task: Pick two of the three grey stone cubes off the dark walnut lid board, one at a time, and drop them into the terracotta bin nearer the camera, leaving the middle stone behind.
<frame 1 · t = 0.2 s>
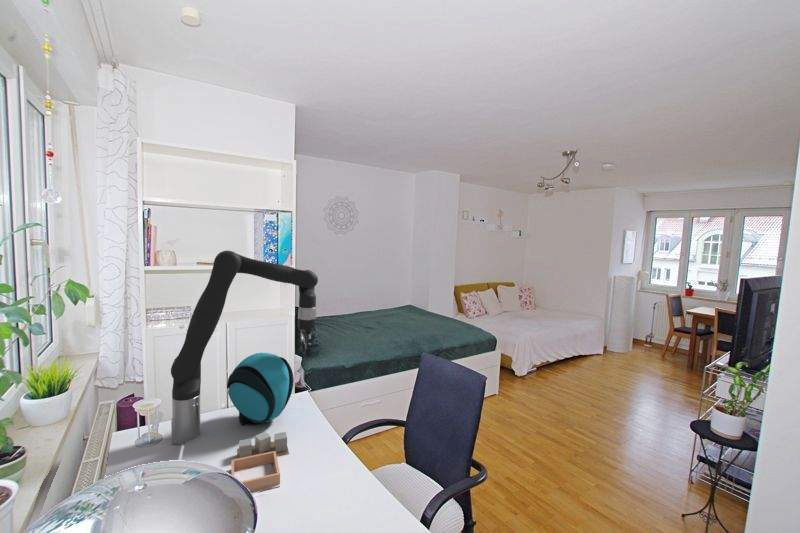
hand: (306, 353, 153), 29 cm above the table, fingers open, 8 cm apart
bin: (255, 479, 117), on the table
helmet: (261, 423, 151), on the table
stone c: (280, 448, 132), point 1 cm above the table, touching lid board
stone b: (262, 449, 131), point 1 cm above the table, touching lid board
stone a: (245, 455, 127), point 1 cm above the table, touching lid board
lid board: (263, 454, 130), on the table
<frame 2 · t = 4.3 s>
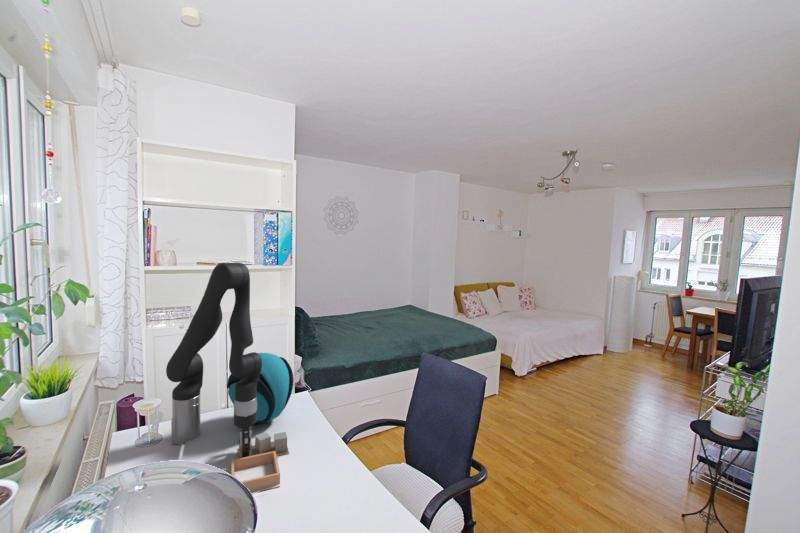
hand: (245, 455, 126), 1 cm above the table, fingers closed on stone a, 4 cm apart
stone a: (245, 455, 127), point 1 cm above the table, touching gripper, lid board
everything else where it was.
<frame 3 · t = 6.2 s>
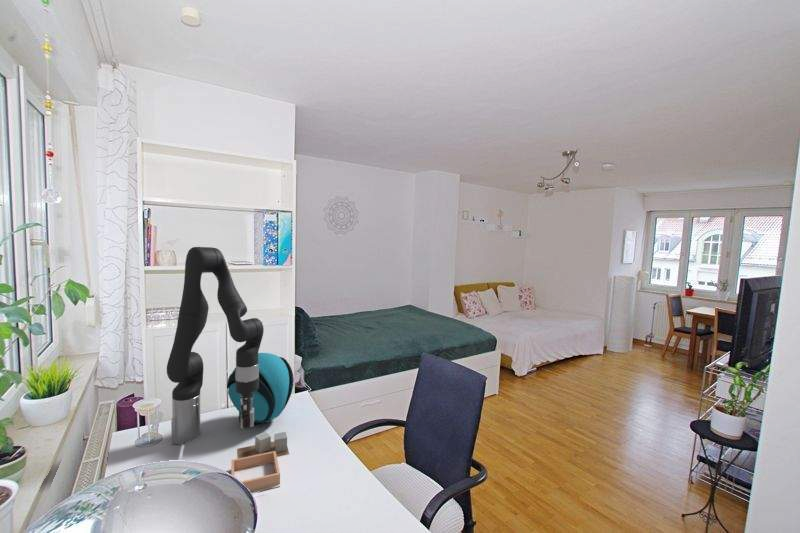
hand: (247, 423, 124), 14 cm above the table, fingers closed on stone a, 4 cm apart
stone a: (247, 424, 124), point 14 cm above the table, touching gripper
everything else where it was.
when the fingers open (3 cm above the table, at t = 8.4 s): stone a drops 2 cm, resting on bin.
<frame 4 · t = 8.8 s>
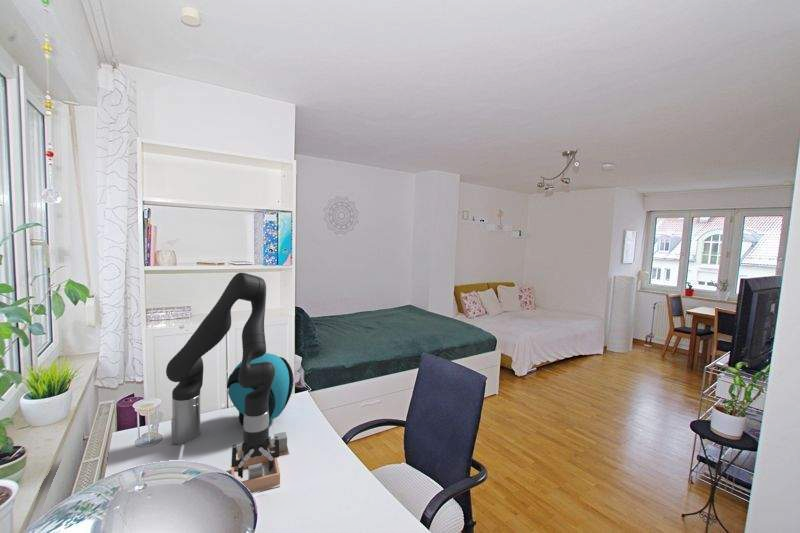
hand: (255, 473, 114), 4 cm above the table, fingers open, 8 cm apart
stone a: (255, 482, 114), point 1 cm above the table, touching bin
everything else where it was.
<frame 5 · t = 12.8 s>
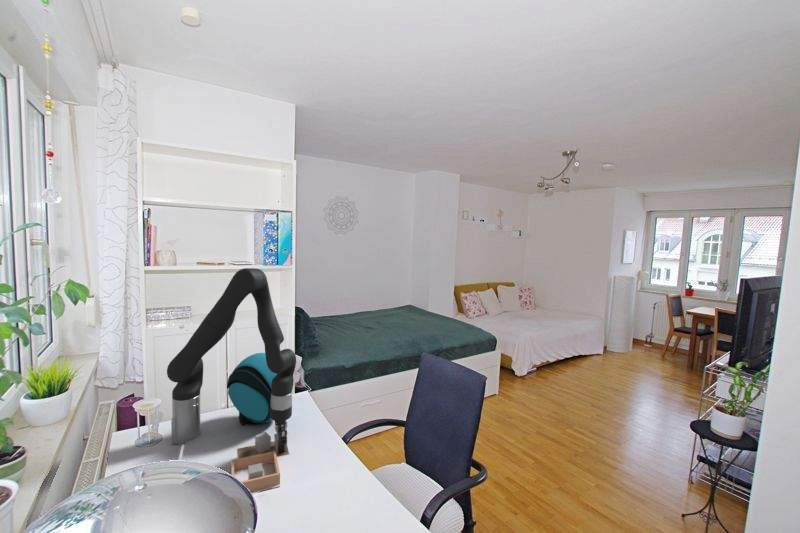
hand: (280, 448, 132), 1 cm above the table, fingers closed on stone c, 4 cm apart
stone c: (280, 448, 132), point 1 cm above the table, touching gripper, lid board
everything else where it was.
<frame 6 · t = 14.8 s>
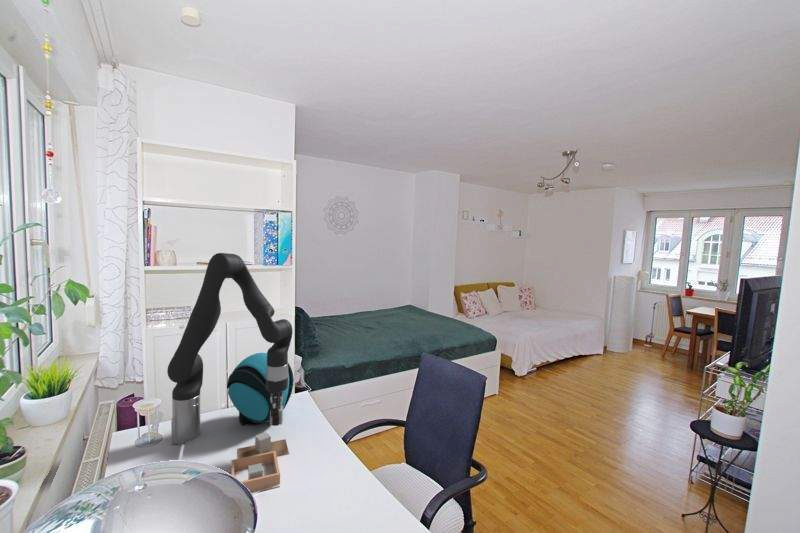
hand: (276, 421, 128), 13 cm above the table, fingers closed on stone c, 4 cm apart
stone c: (276, 421, 128), point 13 cm above the table, touching gripper
everything else where it was.
when the fingers open (3 cm above the table, at t = 16.7 s): stone c drops 2 cm, resting on bin.
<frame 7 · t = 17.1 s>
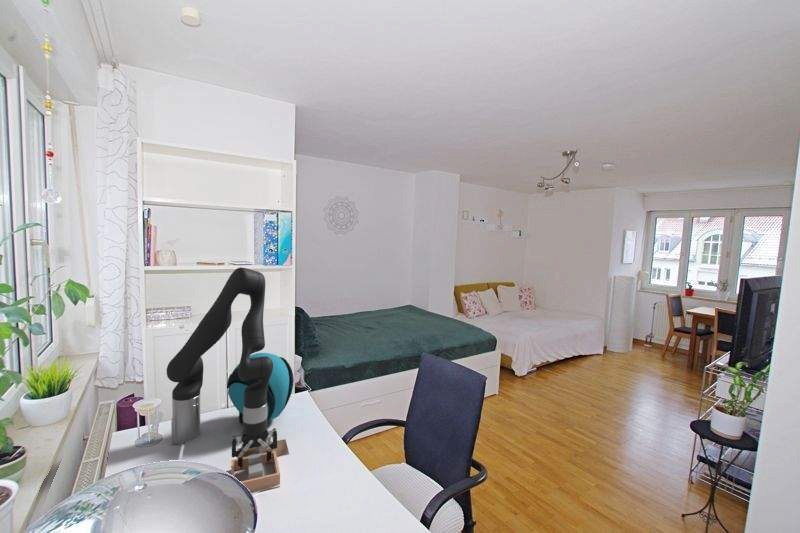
hand: (254, 463, 119), 4 cm above the table, fingers open, 8 cm apart
stone c: (254, 472, 119), point 1 cm above the table, touching bin
everything else where it was.
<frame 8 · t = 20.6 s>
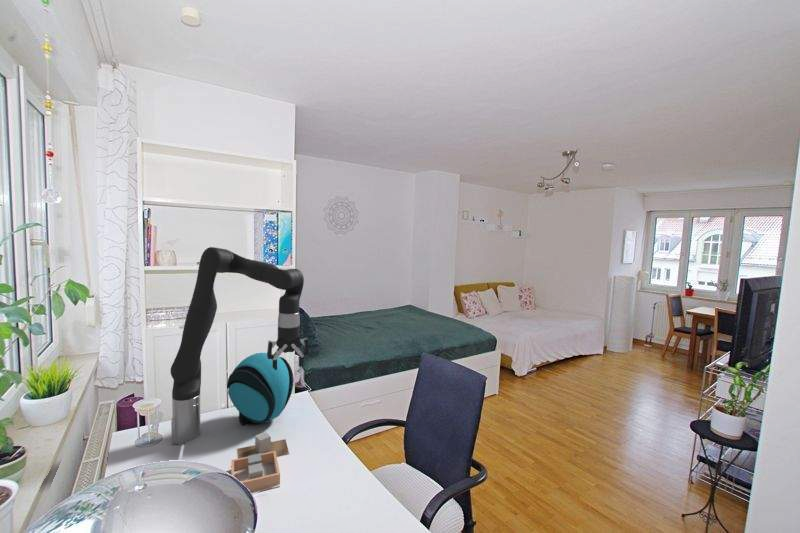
hand: (287, 367, 129), 32 cm above the table, fingers open, 8 cm apart
nothing on the table moved.
at the end: stone a inside the target area on the bin (2.7 cm from its centre), point 0.8 cm above the bin's base; stone c inside the target area on the bin (2.8 cm from its centre), point 0.8 cm above the bin's base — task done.
